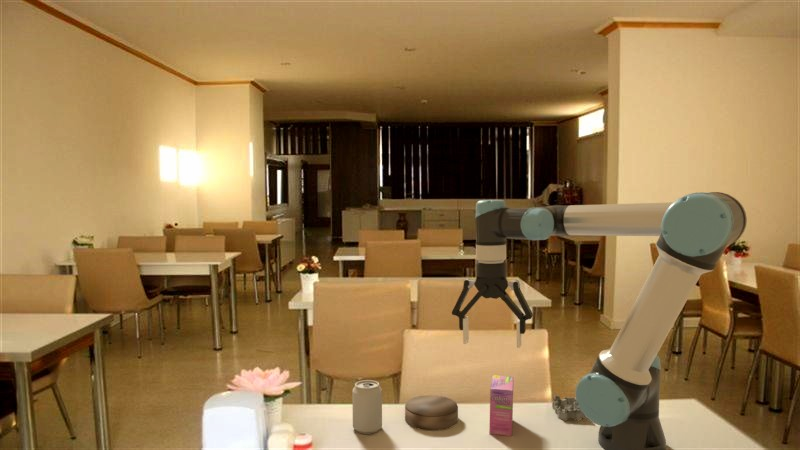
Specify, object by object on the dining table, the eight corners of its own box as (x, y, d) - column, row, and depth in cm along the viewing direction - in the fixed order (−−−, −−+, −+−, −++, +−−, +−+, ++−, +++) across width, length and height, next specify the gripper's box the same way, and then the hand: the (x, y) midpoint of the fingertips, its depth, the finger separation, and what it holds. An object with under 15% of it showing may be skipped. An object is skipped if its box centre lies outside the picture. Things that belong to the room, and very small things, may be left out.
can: (385, 424, 157) (385, 379, 156) (376, 436, 150) (376, 389, 149) (358, 421, 159) (358, 377, 158) (348, 433, 152) (348, 386, 151)
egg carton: (550, 406, 170) (550, 392, 170) (577, 407, 170) (578, 392, 169) (556, 421, 160) (556, 406, 159) (585, 422, 159) (586, 407, 159)
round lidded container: (465, 414, 163) (465, 400, 163) (445, 434, 151) (445, 419, 151) (419, 405, 170) (419, 392, 170) (395, 424, 158) (395, 409, 157)
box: (512, 436, 150) (513, 390, 149) (489, 434, 151) (489, 388, 150) (513, 419, 160) (513, 376, 159) (491, 418, 161) (491, 374, 160)
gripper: (543, 260, 151) (544, 344, 153) (447, 258, 160) (448, 337, 161) (539, 264, 144) (540, 351, 146) (439, 262, 153) (440, 344, 154)
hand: (492, 344), depth 153 cm, fingers open, 13 cm apart
